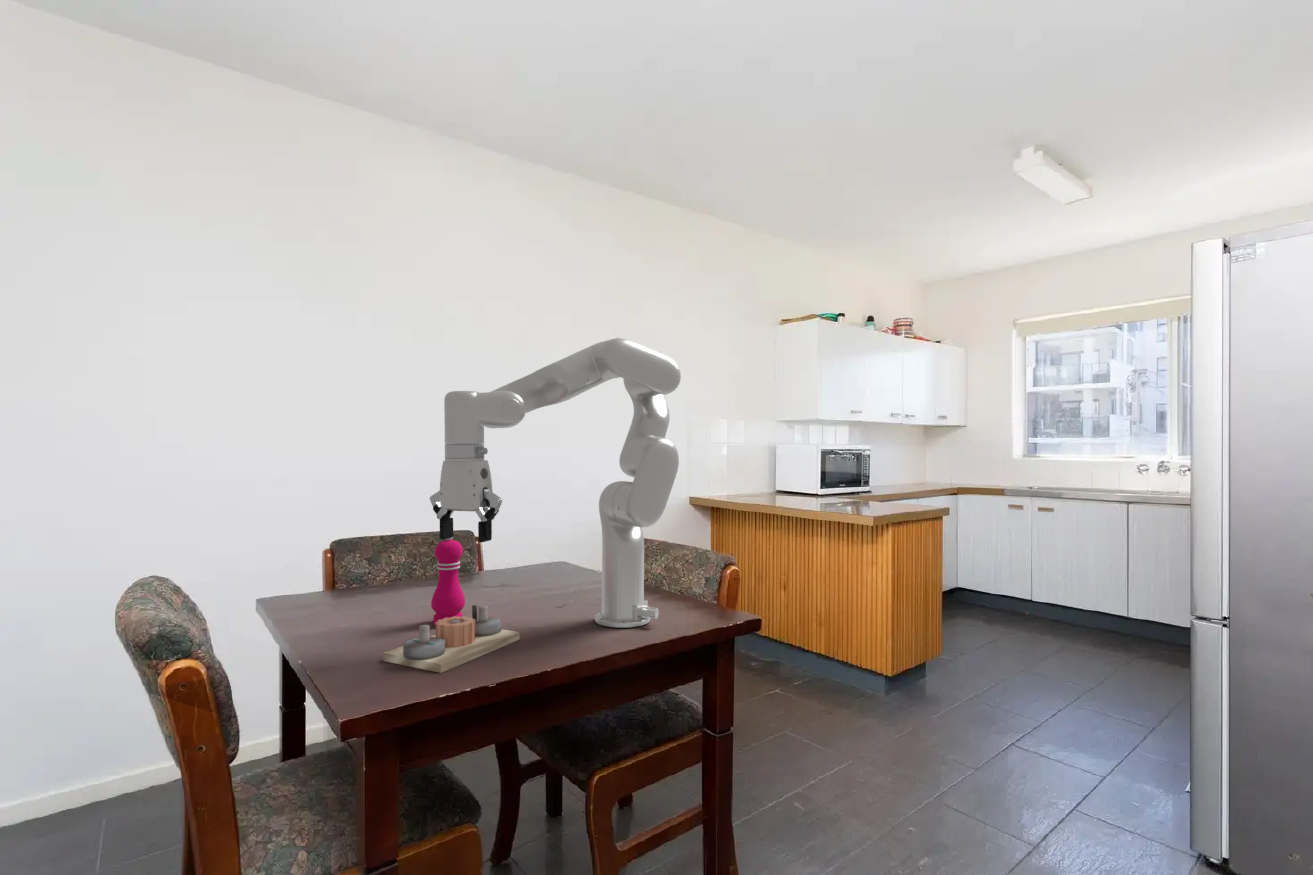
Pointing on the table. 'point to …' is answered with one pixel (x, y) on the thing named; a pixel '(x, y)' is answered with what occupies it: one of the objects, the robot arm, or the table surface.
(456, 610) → the pepper mill
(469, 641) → the gear
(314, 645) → the table surface
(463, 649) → the board
